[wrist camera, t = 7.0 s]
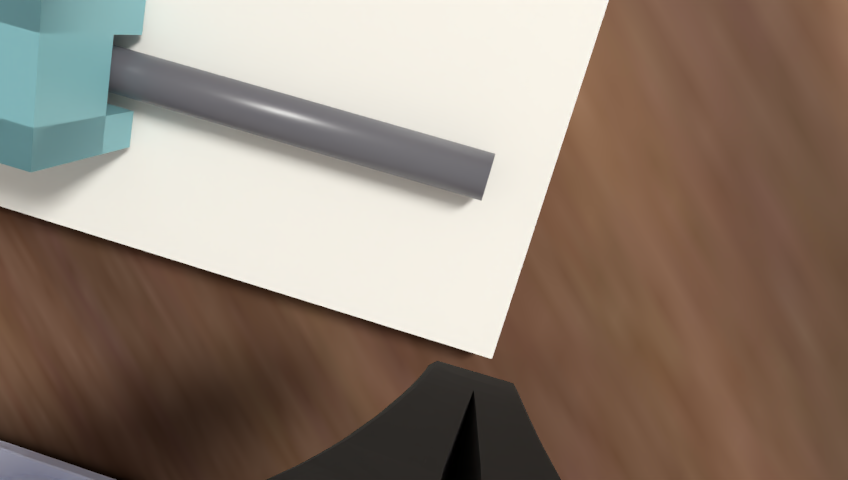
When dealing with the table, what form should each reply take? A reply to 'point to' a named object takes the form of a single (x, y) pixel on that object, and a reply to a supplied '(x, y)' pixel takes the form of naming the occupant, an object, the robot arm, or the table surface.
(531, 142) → the cable board
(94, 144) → the sleeve
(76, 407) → the table surface
